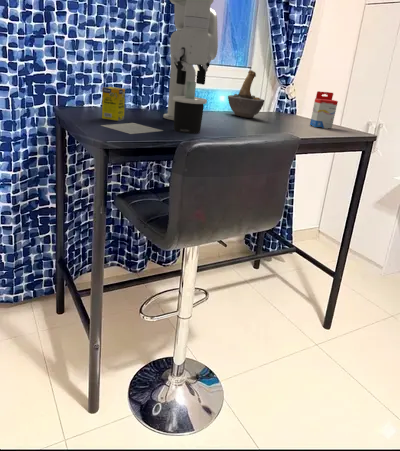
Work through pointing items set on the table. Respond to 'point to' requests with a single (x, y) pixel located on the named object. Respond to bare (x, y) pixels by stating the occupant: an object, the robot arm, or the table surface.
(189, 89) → the lid
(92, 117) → the table surface
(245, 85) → the mortar and pestle
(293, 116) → the table surface
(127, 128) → the mat
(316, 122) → the ink box
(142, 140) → the table surface
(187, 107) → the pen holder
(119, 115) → the supplement box
